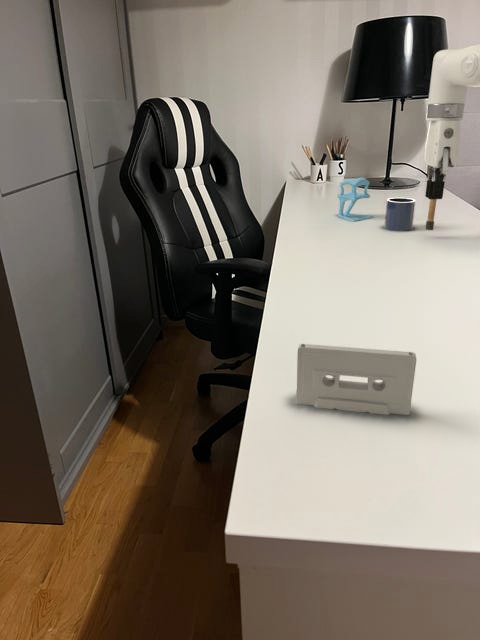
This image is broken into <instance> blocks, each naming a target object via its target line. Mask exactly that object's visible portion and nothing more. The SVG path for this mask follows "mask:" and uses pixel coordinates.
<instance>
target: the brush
mask: <svg viewBox="0 0 480 640" xmlns="http://www.w3.org/2000/svg"><path fill="white" fill-rule="evenodd" d="M437 201H438V199H429V205H428V213H427V220H426V221H425V222H426V223H425V230H426V231H433V230H434V229H435V215H436V206H437Z"/></svg>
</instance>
